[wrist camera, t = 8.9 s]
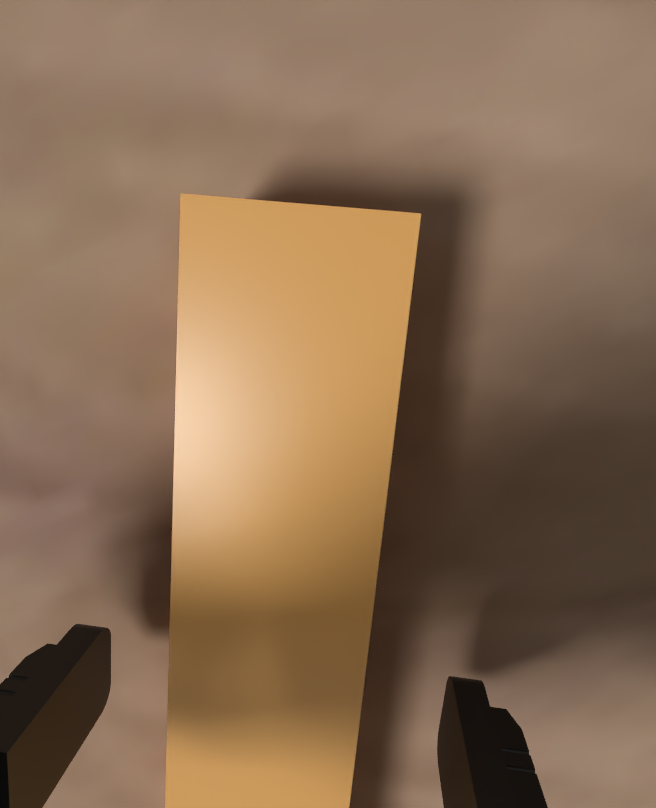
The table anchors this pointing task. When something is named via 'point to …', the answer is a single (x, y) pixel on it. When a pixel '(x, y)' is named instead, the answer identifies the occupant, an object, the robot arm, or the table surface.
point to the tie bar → (279, 492)
